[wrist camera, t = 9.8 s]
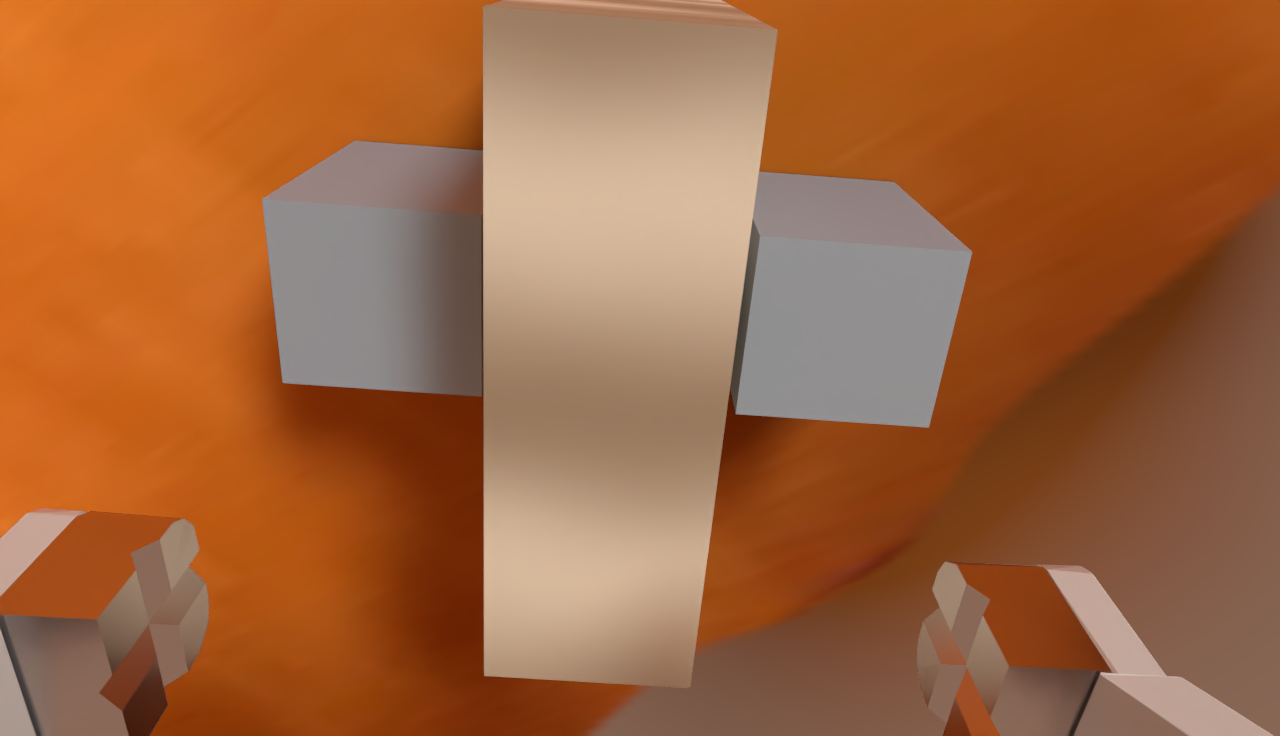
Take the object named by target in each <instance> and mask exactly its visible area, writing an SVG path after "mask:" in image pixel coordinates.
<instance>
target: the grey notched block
mask: <svg viewBox="0 0 1280 736" xmlns="http://www.w3.org/2000/svg"><path fill="white" fill-rule="evenodd" d="M262 203H263V212H264V221H265V230H266V239H267V248H268V257H269V266H270V275H271V284H272V293H273V302H274V311H275V320H276V329H277V337H278V346H279V355H280V364H281V373H282V382H283V383H289V384H303V385H318V386H333V387H347V388H362V389H376V390H391V391H405V392H420V393H435V394H449V395H464V396H478V397H482V394H483V392H484V347H483V150H471V149H458V148H445V147H432V146H419V145H406V144H393V143H380V142H367V141H354V142H352V143H350V144H349V145H347V146H346V147H344V148H342V149H341V150H339V151H338V152H336V153H334V154H333V155H331V156H330V157H328V158H326V159H325V160H323V161H322V162H320V163H319V164H317V165H315V166H314V167H312V168H311V169H309V170H307V171H306V172H304V173H303V174H301V175H299V176H298V177H296V178H295V179H293V180H291V181H290V182H288V183H287V184H285V185H284V186H282V187H280V188H279V189H277V190H276V191H274V192H272V193H271V194H269V195H268V196H266V197H264V198H263V199H262ZM971 255H972V251H971V250H970V249H968V248H967V247H966V246H965V245H964V244H963V243H962V242H961V241H960V240H958V239H957V238H956V237H955V236H954V235H953V234H952V233H951V232H949V231H948V230H947V229H946V228H945V227H944V226H943V225H942V224H940V223H939V222H938V221H937V220H936V219H935V218H934V217H933V216H931V215H930V214H929V213H928V212H927V211H926V210H925V209H924V208H923V207H921V206H920V205H919V204H918V203H917V202H916V201H915V200H914V199H912V198H911V197H910V196H909V195H908V194H907V193H906V192H905V191H903V190H902V189H901V188H900V187H899V186H898V185H897V184H896V183H894V182H888V181H875V180H862V179H849V178H836V177H823V176H810V175H797V174H784V173H771V172H759V175H758V182H757V190H756V197H755V205H754V212H753V220H752V227H751V235H750V242H749V250H748V257H747V265H746V272H745V280H744V287H743V295H742V302H741V310H740V317H739V325H738V332H737V340H736V347H735V355H734V362H733V369H732V377H731V384H730V389H731V394H732V399H733V404H734V409H735V414H740V415H755V416H769V417H784V418H799V419H813V420H828V421H842V422H857V423H871V424H886V425H900V426H915V427H929V425H930V421H931V417H932V413H933V409H934V405H935V401H936V397H937V393H938V389H939V384H940V380H941V376H942V372H943V368H944V364H945V360H946V356H947V352H948V348H949V344H950V340H951V336H952V332H953V328H954V324H955V320H956V316H957V312H958V308H959V304H960V300H961V296H962V292H963V288H964V284H965V280H966V276H967V272H968V268H969V263H970V259H971Z"/></svg>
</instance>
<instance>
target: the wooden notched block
mask: <svg viewBox="0 0 1280 736" xmlns="http://www.w3.org/2000/svg"><path fill="white" fill-rule="evenodd" d="M777 33H778V30H777V29H775V28H773V27H771V26H769V25H767V24H765V23H763V22H761V21H760V20H758V19H756V18H754V17H752V16H750V15H748V14H746V13H745V12H743V11H741V10H739V9H737V8H735V7H733V6H731V5H729V4H728V3H726V2H724V1H722V0H502V1H499V2H496V3H492V4H489V5H485V6H483V347H484V676H495V677H511V678H528V679H545V680H562V681H579V682H595V683H612V684H629V685H646V686H663V687H679V688H690V684H691V676H692V669H693V662H694V654H695V647H696V639H697V632H698V624H699V617H700V609H701V602H702V594H703V587H704V579H705V572H706V564H707V557H708V549H709V542H710V534H711V527H712V519H713V512H714V504H715V497H716V489H717V482H718V474H719V467H720V459H721V452H722V444H723V437H724V429H725V422H726V414H727V407H728V399H729V392H730V384H731V377H732V369H733V362H734V355H735V347H736V340H737V332H738V325H739V317H740V310H741V302H742V295H743V287H744V280H745V272H746V265H747V257H748V250H749V242H750V235H751V227H752V220H753V212H754V205H755V197H756V190H757V182H758V175H759V167H760V160H761V152H762V145H763V137H764V130H765V122H766V115H767V107H768V100H769V92H770V85H771V77H772V70H773V62H774V55H775V48H776V40H777Z"/></svg>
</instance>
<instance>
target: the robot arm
mask: <svg viewBox="0 0 1280 736" xmlns="http://www.w3.org/2000/svg"><path fill="white" fill-rule="evenodd" d="M198 552H199V545H198V541H197V537H196V533H195V529H194V525H193V524H191V523H190V522H188V521H187V520H185V519H184V518H174V517H161V516H148V515H136V514H123V513H110V512H97V511H90V512H85V511H77V510H62V509H48V508H42V509H39V510H35V511H32V512H28V513H27V514H26V515H24V516H23V517H22V518H21V519H20V520H19V521H18V522H17V523H16V524H15V525H14V526H13V527H12V528H11V529H10V530H9V531H8V532H7V533H6V534H4V535H3V536H2V537H1V538H0V736H150V734H151V732H152V731H153V729H154V727H155V726H156V724H157V722H158V721H159V719H160V717H161V716H162V714H163V713H164V711H165V709H166V708H167V706H168V704H167V700H166V695H165V691H164V686H166V685H168V684H169V683H171V682H172V681H174V680H175V679H177V678H179V677H180V676H182V675H183V674H185V673H186V672H188V671H189V669H190V667H191V666H192V664H193V662H194V660H195V658H196V657H197V655H198V653H199V651H200V650H201V646H202V643H203V639H204V636H205V632H206V629H207V625H208V617H209V598H208V592H207V586H206V583H205V582H204V581H203V580H202V579H201V578H200V577H199V576H198V575H197V574H196V573H195V572H194V571H193V570H192V569H191V568H190V567H189V565H190V563H191V562H192V560H193V559H194V557H195V556H196V554H197V553H198ZM932 590H933V593H934V595H935V597H936V599H937V602H938V604H939V606H940V608H938V609H937V610H936V611H935V612H934V613H932V614H931V615H930V616H929V617H927V618H926V619H925V620H924V621H923V624H922V628H921V632H920V636H919V640H918V644H917V671H918V676H919V681H920V686H921V690H922V693H923V696H924V698H925V701H926V704H927V707H928V708H929V709H930V710H931V711H932V712H934V713H935V714H936V715H937V716H938V717H939V718H940V719H942V720H943V721H944V722H945V723H946V727H945V730H944V734H943V736H1273V735H1272V734H1270V733H1268V732H1267V731H1265V730H1264V729H1262V728H1261V727H1259V726H1257V725H1256V724H1254V723H1252V722H1251V721H1250V720H1248V719H1246V718H1245V717H1243V716H1242V715H1240V714H1238V713H1237V712H1235V711H1234V710H1232V709H1231V708H1229V707H1227V706H1226V705H1224V704H1223V703H1221V702H1219V701H1218V700H1217V699H1215V698H1213V697H1212V696H1210V695H1209V694H1207V693H1206V692H1204V691H1202V690H1201V689H1199V688H1198V687H1196V686H1194V685H1193V684H1191V683H1190V682H1188V681H1187V680H1185V679H1183V678H1182V677H1172V676H1166V675H1165V673H1164V672H1163V671H1162V669H1161V668H1160V666H1159V665H1158V664H1157V662H1156V661H1155V660H1154V658H1153V657H1152V656H1151V654H1150V653H1149V651H1148V650H1147V648H1146V647H1145V646H1144V644H1143V643H1142V642H1141V640H1140V639H1139V637H1138V636H1137V635H1136V633H1135V632H1134V630H1133V629H1132V628H1131V626H1130V625H1129V623H1128V622H1127V621H1126V619H1125V618H1124V617H1123V615H1122V614H1121V612H1120V611H1119V610H1118V608H1117V607H1116V605H1115V604H1114V603H1113V601H1112V600H1111V599H1110V597H1109V596H1108V594H1107V593H1106V592H1105V590H1104V589H1103V588H1102V586H1101V585H1100V583H1099V582H1098V581H1097V579H1096V578H1095V576H1094V575H1093V574H1092V573H1091V572H1090V571H1088V570H1087V569H1085V568H1083V567H1081V566H1064V565H1035V566H1024V565H1005V564H986V563H985V564H984V563H965V562H947V561H946V562H945V563H944V564H943V565H942V567H941V568H940V570H939V571H938V573H937V577H936V580H935V583H934V586H933V589H932Z"/></svg>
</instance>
